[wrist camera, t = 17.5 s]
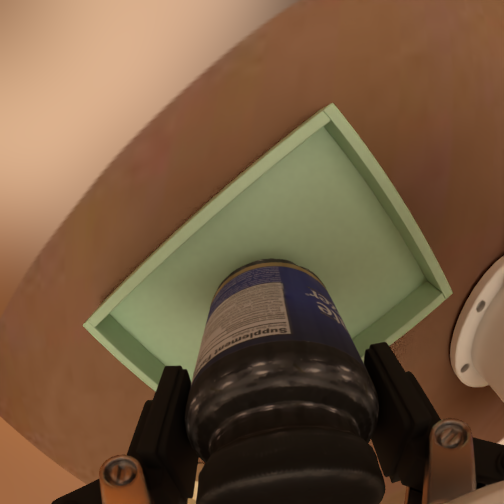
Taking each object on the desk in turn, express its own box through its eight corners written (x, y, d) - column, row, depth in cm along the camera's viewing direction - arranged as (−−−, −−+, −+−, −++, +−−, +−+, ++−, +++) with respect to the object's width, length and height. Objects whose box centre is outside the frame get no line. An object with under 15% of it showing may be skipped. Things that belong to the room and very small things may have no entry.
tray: (229, 416, 21) (227, 444, 19) (100, 304, 18) (82, 325, 16) (431, 275, 18) (453, 293, 15) (319, 109, 15) (333, 101, 12)
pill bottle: (344, 331, 16) (421, 506, 6) (244, 374, 17) (242, 556, 7) (300, 232, 15) (396, 405, 4) (187, 287, 16) (112, 481, 5)
